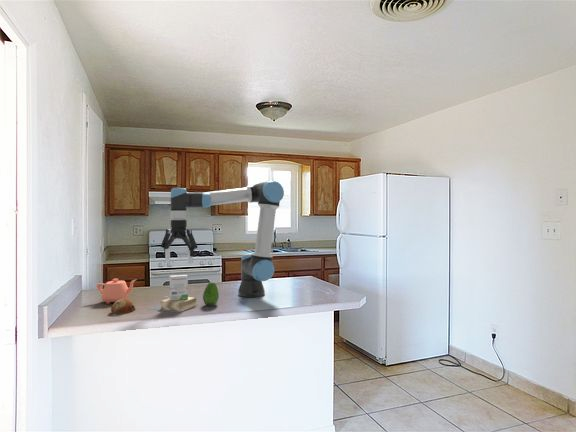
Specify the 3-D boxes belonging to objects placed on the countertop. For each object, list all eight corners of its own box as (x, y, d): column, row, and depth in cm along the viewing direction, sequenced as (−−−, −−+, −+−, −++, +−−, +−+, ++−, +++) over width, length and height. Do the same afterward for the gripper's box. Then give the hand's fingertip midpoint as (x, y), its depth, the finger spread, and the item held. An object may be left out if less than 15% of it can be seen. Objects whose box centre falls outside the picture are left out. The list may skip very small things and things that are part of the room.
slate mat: (198, 305, 194) (198, 304, 194) (178, 313, 180) (178, 312, 180) (169, 302, 201) (169, 301, 201) (148, 309, 186) (148, 308, 186)
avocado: (219, 307, 191) (219, 283, 191) (203, 308, 189) (203, 284, 189) (217, 303, 199) (217, 280, 199) (202, 304, 197) (202, 281, 197)
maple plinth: (196, 305, 193) (196, 297, 192) (181, 311, 181) (181, 303, 181) (176, 303, 197) (176, 295, 197) (160, 309, 186) (160, 300, 186)
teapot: (134, 303, 198) (134, 280, 198) (92, 305, 194) (92, 281, 194) (139, 298, 211) (139, 276, 211) (100, 299, 208) (100, 277, 207)
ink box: (187, 297, 193) (187, 274, 193) (188, 299, 188) (188, 275, 188) (169, 298, 190) (169, 275, 190) (169, 301, 186) (169, 276, 185)
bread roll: (120, 316, 187) (112, 302, 187) (139, 307, 188) (132, 292, 188) (112, 322, 177) (104, 307, 177) (133, 312, 178) (125, 297, 178)
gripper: (204, 219, 187) (204, 262, 188) (163, 219, 197) (163, 260, 197) (195, 219, 181) (195, 264, 181) (153, 219, 190) (153, 262, 190)
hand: (178, 262), depth 189 cm, fingers open, 13 cm apart
